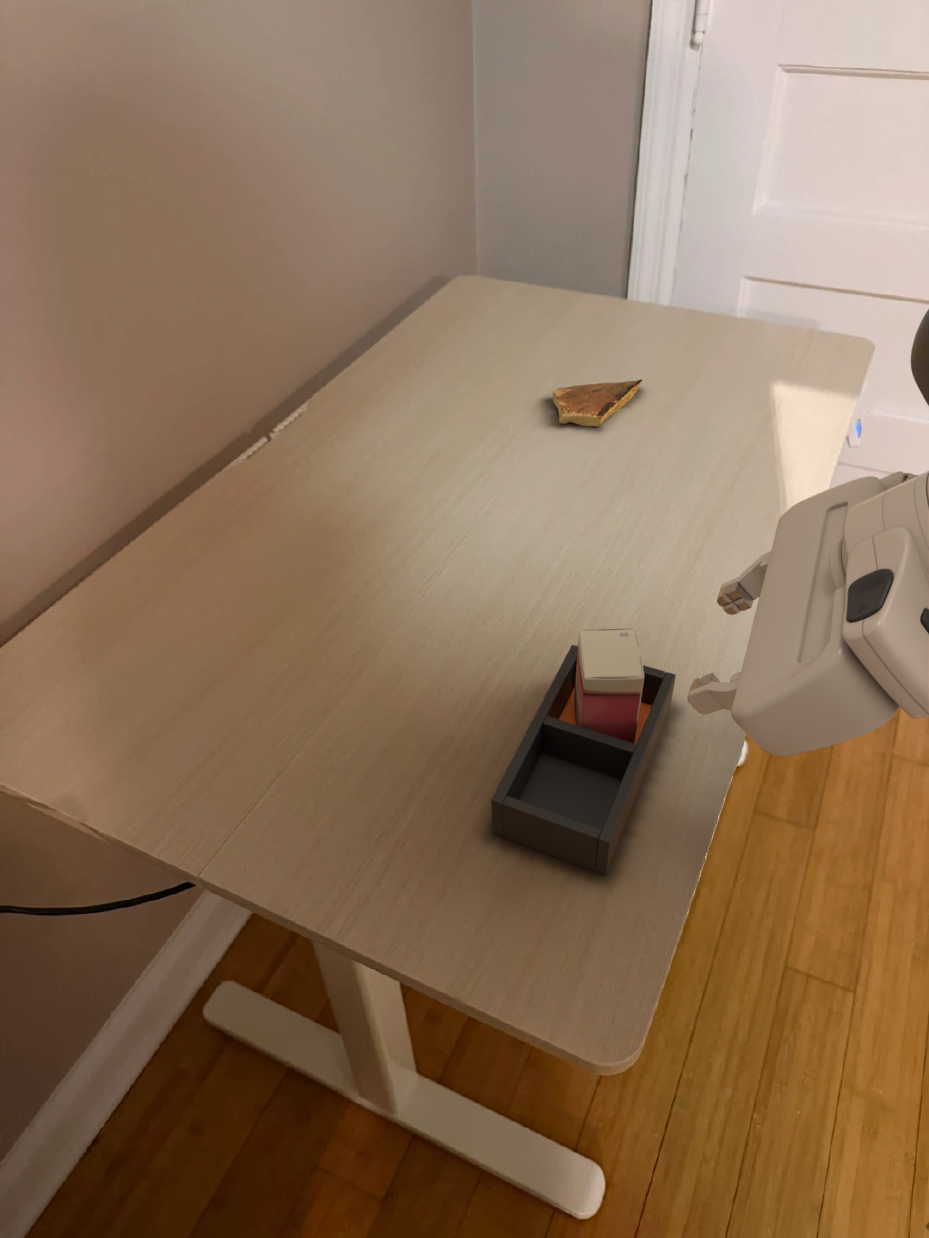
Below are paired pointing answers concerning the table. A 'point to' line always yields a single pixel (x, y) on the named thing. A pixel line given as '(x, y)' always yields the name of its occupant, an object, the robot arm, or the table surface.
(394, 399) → the table surface
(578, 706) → the small box
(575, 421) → the shard
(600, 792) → the holder
